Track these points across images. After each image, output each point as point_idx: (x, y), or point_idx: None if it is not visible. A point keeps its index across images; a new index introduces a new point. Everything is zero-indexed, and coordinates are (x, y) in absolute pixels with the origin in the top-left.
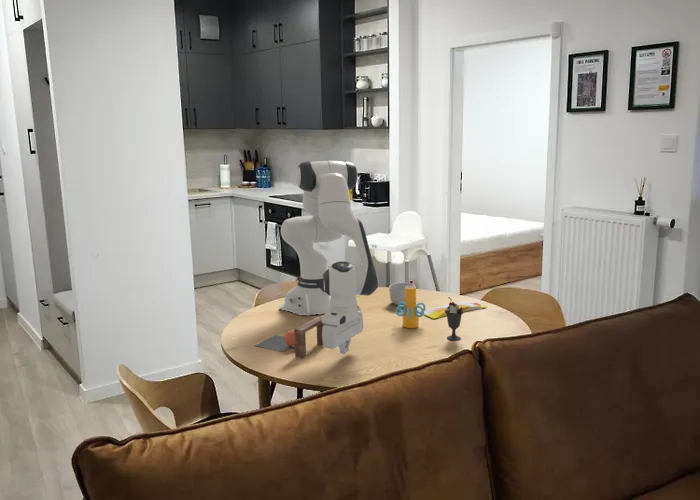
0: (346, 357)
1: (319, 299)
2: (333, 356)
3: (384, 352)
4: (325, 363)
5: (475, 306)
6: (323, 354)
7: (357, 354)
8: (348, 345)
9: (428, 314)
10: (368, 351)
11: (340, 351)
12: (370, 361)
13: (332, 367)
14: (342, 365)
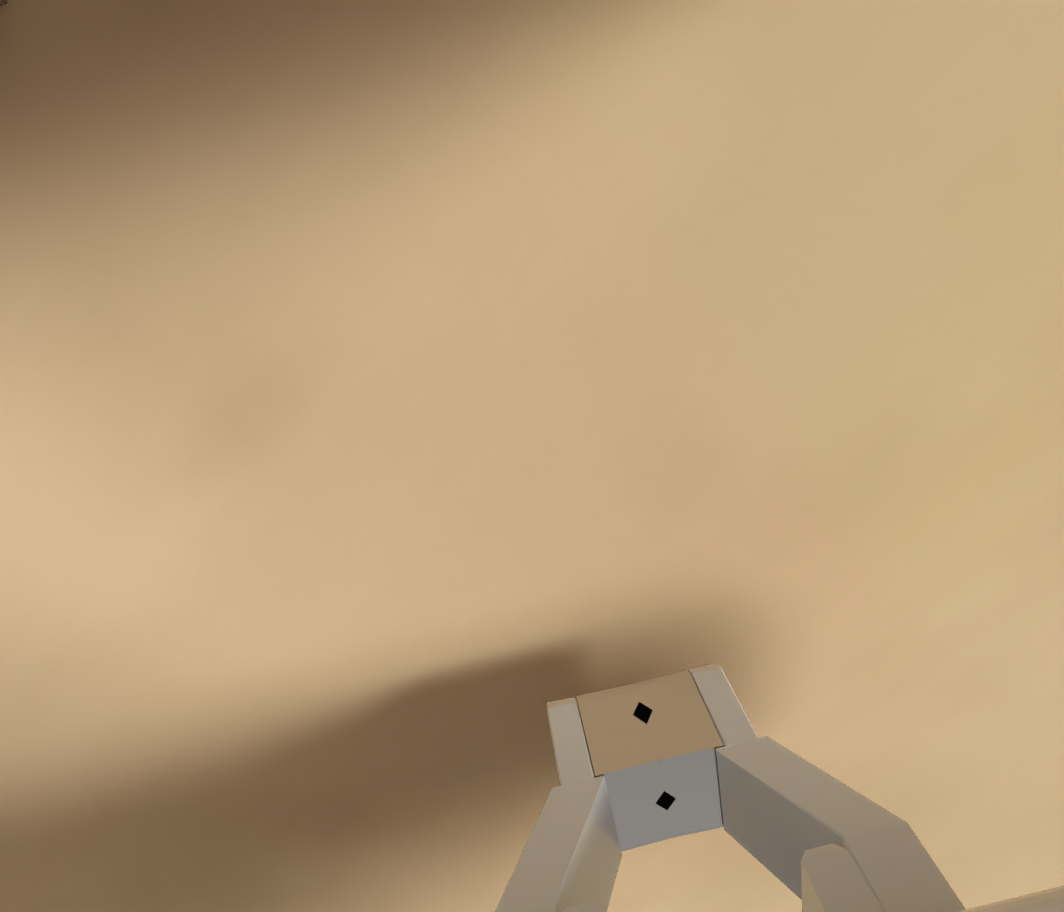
0: (625, 666)
1: None
2: (517, 498)
3: (1036, 835)
4: (177, 623)
5: None
6: (457, 269)
7: (819, 688)
8: (755, 853)
9: None
10: (994, 709)
11: (554, 736)
12: (698, 909)
13: (174, 788)
14: (347, 817)
